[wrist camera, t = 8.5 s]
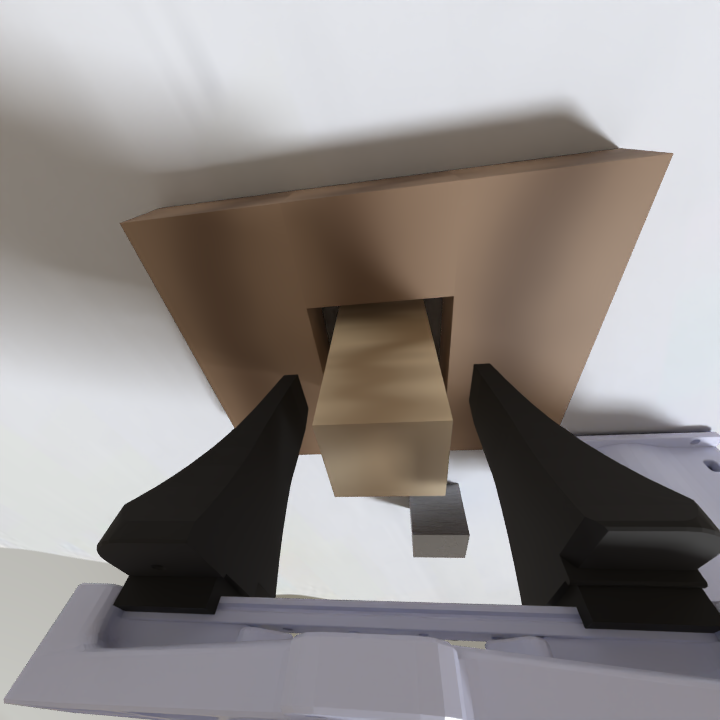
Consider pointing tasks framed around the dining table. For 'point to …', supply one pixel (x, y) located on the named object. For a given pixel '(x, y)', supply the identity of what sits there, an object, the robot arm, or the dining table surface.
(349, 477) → the long beech pin
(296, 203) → the hole board
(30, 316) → the dining table surface
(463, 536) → the brushed steel cube
